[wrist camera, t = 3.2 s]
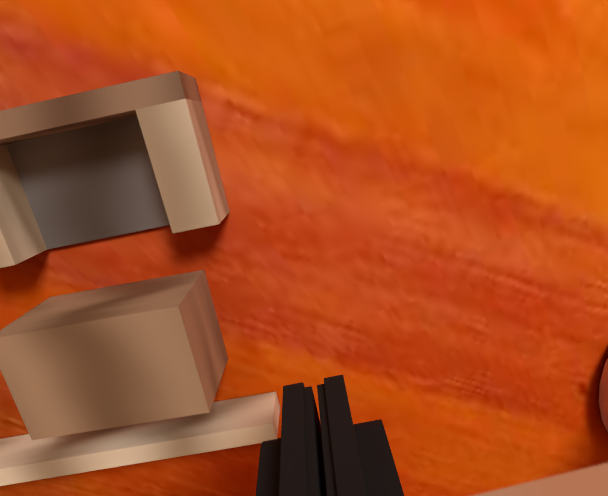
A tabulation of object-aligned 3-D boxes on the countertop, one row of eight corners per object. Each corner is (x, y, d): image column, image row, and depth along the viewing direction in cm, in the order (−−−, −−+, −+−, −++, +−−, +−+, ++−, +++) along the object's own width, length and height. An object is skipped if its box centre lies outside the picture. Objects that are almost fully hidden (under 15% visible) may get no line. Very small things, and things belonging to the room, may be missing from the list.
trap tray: (195, 78, 18) (177, 70, 16) (280, 407, 23) (276, 440, 20) (-281, 184, 19) (-363, 192, 17) (-109, 473, 24) (-154, 511, 22)
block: (205, 268, 21) (178, 306, 16) (228, 356, 22) (209, 412, 18) (52, 295, 21) (-13, 339, 17) (84, 380, 23) (31, 440, 18)
